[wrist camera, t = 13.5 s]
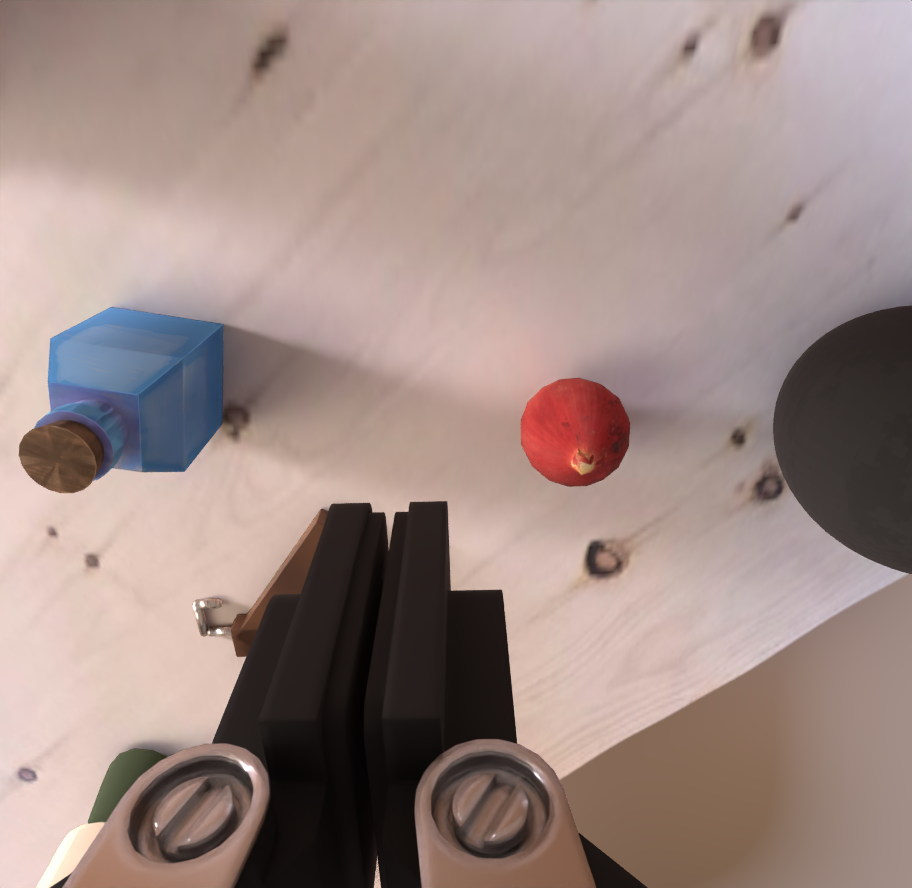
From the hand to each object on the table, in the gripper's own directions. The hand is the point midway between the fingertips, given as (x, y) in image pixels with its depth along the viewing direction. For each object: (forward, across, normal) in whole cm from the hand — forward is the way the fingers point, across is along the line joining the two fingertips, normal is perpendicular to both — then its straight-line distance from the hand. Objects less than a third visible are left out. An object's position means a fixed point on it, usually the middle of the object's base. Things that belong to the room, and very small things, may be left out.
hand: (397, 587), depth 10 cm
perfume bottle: (+29, +16, +6) cm, 34 cm away
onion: (+29, -7, +9) cm, 31 cm away
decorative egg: (+29, -23, +8) cm, 38 cm away
